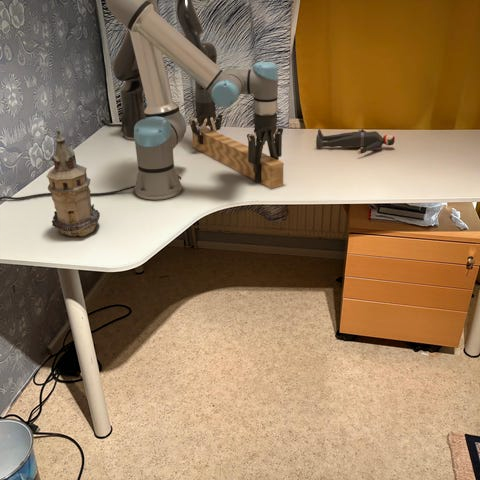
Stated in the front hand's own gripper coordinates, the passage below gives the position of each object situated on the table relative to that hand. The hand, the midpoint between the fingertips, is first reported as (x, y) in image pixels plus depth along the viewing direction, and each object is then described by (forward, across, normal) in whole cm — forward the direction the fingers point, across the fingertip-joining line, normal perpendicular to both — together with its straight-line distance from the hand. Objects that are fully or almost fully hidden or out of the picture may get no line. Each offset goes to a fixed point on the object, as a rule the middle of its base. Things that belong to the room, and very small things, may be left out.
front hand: (264, 179), depth 184 cm
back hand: (-3, 0, -37) cm, 37 cm away
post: (+1, 0, -18) cm, 19 cm away
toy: (0, -49, -5) cm, 49 cm away
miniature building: (+1, +65, -4) cm, 65 cm away
